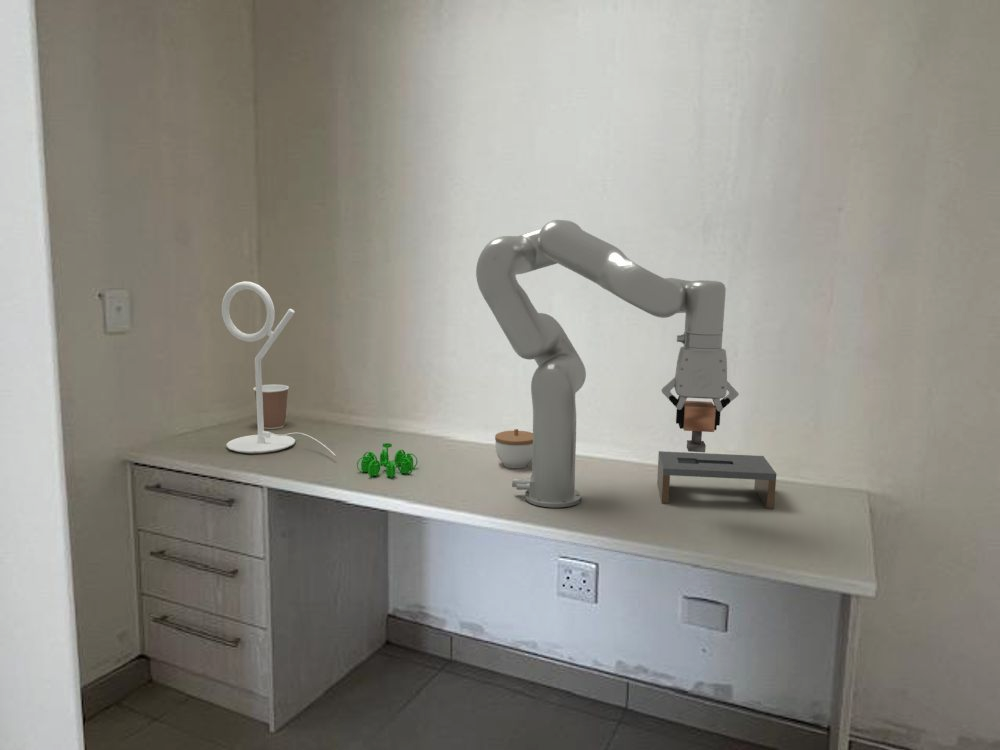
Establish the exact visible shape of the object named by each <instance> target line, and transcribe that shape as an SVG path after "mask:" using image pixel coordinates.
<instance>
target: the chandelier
mask: <svg viewBox="0 0 1000 750" xmlns="http://www.w3.org/2000/svg"><path fill="white" fill-rule="evenodd" d="M392 445H393V444H392V443H389V442H388V443H383V444H382V447H383V448H382V451H381V452H380V454H379V460H378V457H377V454H375V453H374V452H373V451H366V452H365V453H364V454H363V456H362V457H360V458H359V459H358V460H357V462H356V469H357V470H358V471H359V472H360V473H362V474H364V473H365V472H367V474H368V476H369V477H370V478H373V477H375V476H376V475H377V476H379V475H380V470H381V467H383V466H384V467H385V466H386V467H385V469H386V470H385V471H386V473H385V474H386V476H387V477H390V479H393V478H394V476H395V475H396V466H397V469H398V471H399V473H400V474H402V473H404V474H409V475H410V474H412V472H413V470H414V469H415V468H416V467H417V464H418V458H417V456H416V455H415V454H413V453H411V452H408V453H406V452H405V450H404V449H398V450H397V451H396V452H395V455H394V459H393V460H390V459H389V457H390V456H389V448H392ZM385 448H386V449H385ZM413 456H414V458H415V461H416V462H415V465H414V458H413ZM360 461H361V462H360ZM359 462H360V465H361V466H360V469H359ZM377 476H376V477H377Z"/></svg>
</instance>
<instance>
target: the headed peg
mask: <svg viewBox="0 0 1000 750" xmlns="http://www.w3.org/2000/svg"><path fill="white" fill-rule="evenodd" d="M683 407H684V408H683V409H684V425H683V431H684V432H691V440H688V439H686V449H687V451H688V453H706V447H707V445H706V443H705V441H704V440H702V437H703V436H702V435H703V433H704V432H705V433H706V432H707V433H714V432H715V430H714V427H715V413H716V408H715V405H714V402H713V401H700V400H699V401H697V400H686V401H685V403H684V405H683Z"/></svg>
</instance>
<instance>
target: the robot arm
mask: <svg viewBox="0 0 1000 750" xmlns="http://www.w3.org/2000/svg"><path fill="white" fill-rule="evenodd" d="M556 264H558V265H560V266H562V267H564V268H566V269H569V270H570V271H572V272H574V273H576V274H578V275H579V276H582V277H583V278H585V279H587V280H589V281H591V282H593V283H595V284H597V285H598V286H600V287H601V288H602V289H604V290H606V291H607V292H610V293H611V294H613V295H614V296H616V297H617V298H619V299H621V300H623V301H624V302H627V303H628V304H629V305H632V306H634V307H635V308H638V309H640V310H642V311H644V312H645V313H647V314H649V315H651V316H654V317H656V318H661V319H665V318H670V317H673V316H674V315H677V314H685V318H684V319H685V320H684V331H683V333H682V334H679V335H676V342H677V343H682V344H683V346H681V347H679V348H680V349H679V351H678V356H677V361H676V367H675V374H674V375H675V376H674V377H673V378H672V379H671V380H670V381H669V382H667V383H666V384H665V385H664V386H663V387H662V388H661V390H660V391H661V393H662V394H663V396H665V398H667V399H668V401H670V402H671V404H673V406H674V407H675V408H676V415H675V424H677V425H678V428H679V429H681V430H682V429H683V425H684V409H683V408H684V407H683V405H684V403H685V401H687V399H688V398H689V399H711V400H712V403H713V405H714V406H715V408H716V413H715V427H714V431H717V428H718V427H717V426H719V427H720V425H721V412H722V411H724V410H723V409H725V408H726V407H727V406H728V405H729V404H730V403H731V402H733V400H735V399H736V398H737V397H738V396H739V392H738V391H737V390H736V388H734V387H733V385H732V384H731V383H730V382H729V381H728V360H727V359H728V358H727V351H726V349H724V348H722V347H723V334H724V333H723V331H724V321H725V320H724V319H725V317H724V316H725V303H726V292H727V291H726V286H725V284H724V283H723V282H721V281H717V280H703V279H702V280H699V279H698V280H693V281H692V280H685V279H679V278H674V277H665V278H664V277H662V276H660V275H658V274H656V273H655V272H652V271H650V270H648V269H647V268H644V267H643V266H641V265H639V264H637V263H636V262H635V261H633V260H631V259H630V258H629V257H627V255H625V253H624V252H623V251H622V250H621V249H620V248H618V247H617V246H615V245H614V244H611V243H609V242H607V241H605V240H603V239H601V238H598V237H597V236H595V235H593V234H591V233H589V232H587V231H585V230H583V229H582V227H580V226H579V224H577V223H576V222H573V221H570V220H564V219H554V220H550V221H548V222H547V223H545V225H543V227H542V228H541V229H537V230H533V231H531V232H527V233H524V234H520V235H503V236H498V237H496V238H494V239H492V240H490V241H489V242H488V243H487V244H486V245H485V246H484V247H483V249H482V251H481V252H480V254H479V257H478V259H477V263H476V269H475V270H476V271H475V277H476V282H477V286H478V289H479V291H480V293H481V295H482V297H483V299H484V300H485V302H486V304H487V306H488V307H489V309H490V311H491V313H492V314H493V316H494V318H495V319H496V321H497V322H498V325H499V326H500V328H501V330H502V332H503V333H504V335H505V337H506V339H507V340H508V342H509V344H510V346H511V347H512V349H513V351H514V353H516V355H518V357H520V358H522V359H525V360H534V361H535V362H536V364H537V368H536V369H535V370H534V373H533V374H532V378H531V382H530V383H531V384H530V396H531V403H532V404H531V405H532V433H533V457H532V461H531V462H532V463H531V464H532V465H531V467H532V468H531V469H532V471H531V477H526V479H523V478H522V479H521V478H512V481H511V482H512V483H511V487H512V488H515V489H516V490H518V491H519V490H520V491H521V490H524V491H525V492H524V499H525V500H526V502H528V503H530V504H532V505H534V506H538V507H541V508H542V507H543V508H551V509H552V508H553V509H557V508H560V509H561V508H567V507H568V508H569V507H572V506H574V505H577V504H580V502H581V501H582V493H581V492H580V491H578V490H577V489H575V488H576V487H575V483H576V456H577V455H576V450H577V449H576V448H577V447H576V445H577V407H576V406H577V404H576V393H577V392H579V391H580V390H581V388H583V386H584V384H585V381H586V377H587V371H586V367H585V364H584V362H583V360H582V358H581V357H580V355H579V353H578V351H577V350H576V349H575V347H574V345H573V343H572V341H571V340H570V338H569V337H568V334H566V331H565V330H564V328H563V327H562V325H561V324H560V323H559V322H558V321H557V319H555V318H554V317H553V316H551V315H550V314H547V313H543V312H539V311H538V310H537V309H536V308H535V306H534V305H533V303H532V301H531V298H530V297H529V295H528V294H527V292H526V291H525V290H524V289H523V287H522V286H521V284H519V282H518V279H517V275H522V274H523V275H524V274H527V273H529V272H530V273H531V272H533V271H536V270H540V269H542V268H547V267H550V266H554V265H556ZM673 389H674V391H675V393H676V394H677V396H678V397H676V396H675V395H674V394H673V393H672V392H671V391H672V390H673ZM727 391H728V394H727ZM683 430H684V429H683Z"/></svg>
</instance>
